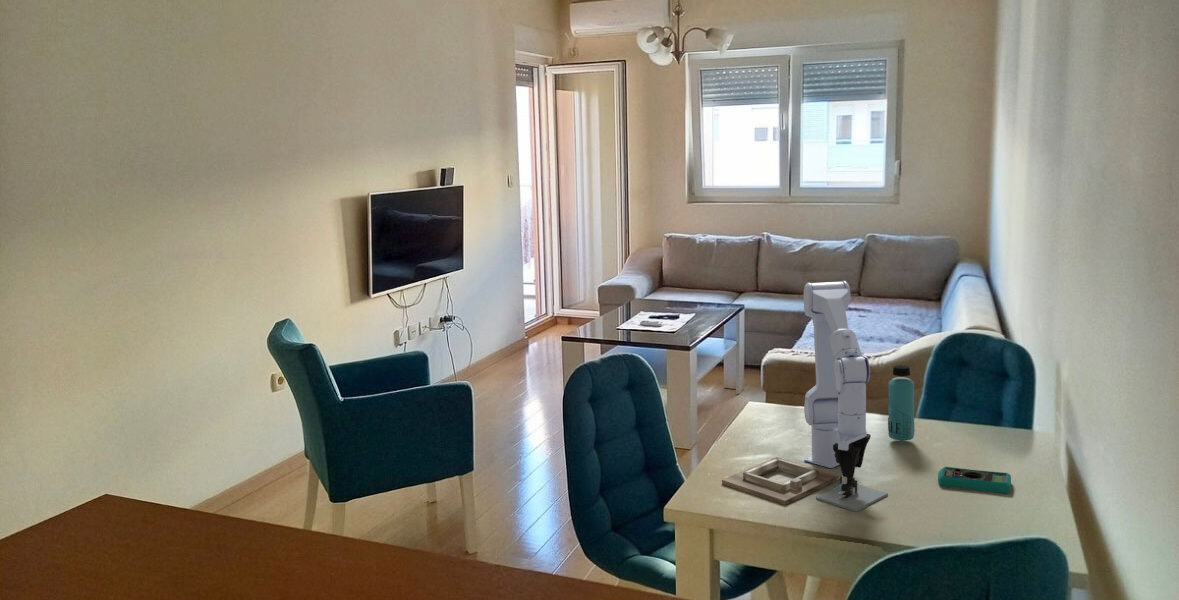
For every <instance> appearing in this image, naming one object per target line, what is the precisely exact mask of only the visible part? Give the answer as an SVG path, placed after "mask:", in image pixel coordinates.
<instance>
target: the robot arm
mask: <svg viewBox="0 0 1179 600" xmlns="http://www.w3.org/2000/svg"><path fill="white" fill-rule="evenodd" d="M850 303H851V287H850V285H849V283H848V282H847V281H846V280H841V281H831V282H830V281H827V282H824V281H823V282H806V284H805V285H804V287H803V312H804V315H805V316H806V317H809V318H811V320H812V323H813V338H814V339H813V341H814V342H813V344H814V363H815V364H814V365H815V385H814V386H813V387H812V388H810V389H809V390H808V391H806V393H805V395H804V406H803V407H804V408H803V410H804V413H803V414H804V419H805V422H806V423H807V424H808V426H811V455H810V456H808V457H806V458H804V462H807V463H811V464H815V465H818V466H821V467H825V468H828V469H833V468H835V467H837V466H839V467H840V471H841V476H842V475H843V477H850V478H854V475H855V472H856V470H855V469H856V468H860V469H861V467H862V464H863V462H864V461H863V460H864V456H865V451H866V448H867V446H868V443H869V441H870V439H871V438H872V437H871V434H870V433H868V431H867V384H868V383H869V381H870V377H871V368H870V362H869V358H868V356H867V355H866V354H865V353H864V352H862V351H861V347H860V344H859V342H858V338H857V335H856V333H855V332H854V331H853V330H851V329H849V324H848V318H847V312H846V311H847V310H848V309H849V305H850ZM835 453H836V455H837V457H838V460H839V463H840V464H839V463H837V462H836V458H835V456H834V454H835ZM858 454H860V458H859V461H858V463H857V464H856V460H857V456H858Z"/></svg>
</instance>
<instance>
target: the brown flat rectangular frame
mask: <svg viewBox="0 0 1179 600" xmlns="http://www.w3.org/2000/svg"><path fill="white" fill-rule="evenodd" d="M777 471H781V472H784V473H786V474H790V475H791V474H792V475H794V476H796V477H795V478H792V479H790V480H788V481H786V482H783V483H782V482H779V481H776V480H773V479H769V478H767V477H765V476H767V475H770V474H771V473H774V472H777ZM840 477H841V476H840V474H837V473H833V472H831V471H826V470H823V469H819V468H816V467H813V466H808V465H805V464H802V463H799V462H795V461H791V460H789V459H785V458H782V457H777V456H776V457H773V458H771V459H767V460H766V461H763V462H761V463H758V464H757V465H754V466H752V467H750V468H747V469H744V470H742V471H740V472H738V473H735V474H733V475H730V476H727V477H726V478H723V479H721V485H724V486H727V487H731V488H733V489H736V490H739V491H742V492H745V493H748V494H751V495H754V496H758V497H760V498H763V499H766V500H769V501H772V502H775V503H778V504H781V505H784V506H786V505H789V504H790V503H793V502H795V501H797V500H799V499H801V498H803V497H805V496H807V495H809V494H811V493H813V492H816V491H818V490H820V489H822V488H825V487H826V486H828V485H831V484H833V483H835V482H837V481H840Z"/></svg>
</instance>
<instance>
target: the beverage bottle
mask: <svg viewBox="0 0 1179 600" xmlns="http://www.w3.org/2000/svg"><path fill="white" fill-rule="evenodd" d="M910 369H911V368H910V366H909V365H907V364H896V365H893V367H892V375H893V376H896V377H893V378H892V379H891V380H889V381H888V395H887V400H888V402H887V403H888V404H887V406H888V415H887V416H888V417H887V429H888V437H889V438H890V439H892V440H894V441H904V442H905V441H911V440H913V439H914V438H915V435H916V433H915V431H916V429H915V427H916V426H915V425H916V422H915V421H916V420H915V418H916V416H915V414H916V413H915V381H913V380H912V379H910V377H909V376H910V375H911V370H910ZM908 377H909V378H908Z"/></svg>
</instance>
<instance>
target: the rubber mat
mask: <svg viewBox="0 0 1179 600" xmlns="http://www.w3.org/2000/svg"><path fill="white" fill-rule="evenodd" d="M838 493H839V485H838V486H837V487H834V488H833V489H831V490H829V491H826V492H824V493H822V494H820V495H818V496H816V500H818V501H821V502H824V503H827V504H831V505H834V506H835V507H836V506H837V507H840V508H843V509H846V510H849V511H852V512H856V513H857V512H859V511H860V510H863V509H865V508H867V507H869V506H870V505H872V504H875V503H877V502H879V501H880V500H882V499H884V498H885V497H888V495H889V493H888V492H885V491H881V490H878V489H876V488H875V489H874V488H871V487H868V486H864V485H860V484H858V483H857V492H856V493H855V494H854V495H853V494H852V495H850V496H849V497H848V498H845V497H843V498H839V494H838Z"/></svg>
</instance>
